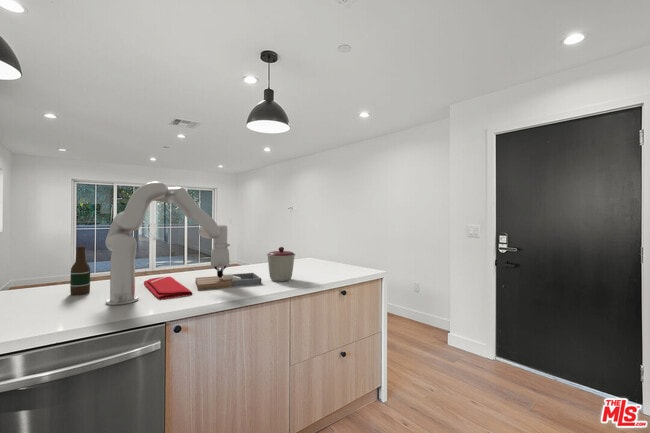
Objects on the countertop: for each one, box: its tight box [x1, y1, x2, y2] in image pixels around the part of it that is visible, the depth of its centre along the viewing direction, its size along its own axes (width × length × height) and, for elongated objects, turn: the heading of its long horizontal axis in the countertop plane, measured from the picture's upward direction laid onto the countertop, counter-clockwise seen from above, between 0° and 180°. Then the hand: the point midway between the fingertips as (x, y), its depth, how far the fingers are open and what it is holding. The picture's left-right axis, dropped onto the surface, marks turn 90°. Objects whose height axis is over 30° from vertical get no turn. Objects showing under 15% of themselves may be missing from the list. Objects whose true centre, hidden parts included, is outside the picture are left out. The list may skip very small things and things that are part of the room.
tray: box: [230, 272, 262, 288], centre depth 184 cm, size 20×16×4 cm
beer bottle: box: [69, 245, 91, 296], centre depth 153 cm, size 8×8×24 cm
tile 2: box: [231, 276, 241, 281], centre depth 182 cm, size 5×5×2 cm
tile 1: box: [223, 272, 233, 280], centre depth 179 cm, size 5×5×2 cm
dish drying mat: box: [143, 276, 193, 301], centre depth 164 cm, size 16×41×4 cm, turn 40°
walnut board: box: [195, 275, 233, 291], centre depth 176 cm, size 20×18×3 cm
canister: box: [266, 246, 296, 283], centre depth 191 cm, size 18×18×21 cm
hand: (219, 277), depth 178 cm, fingers closed
